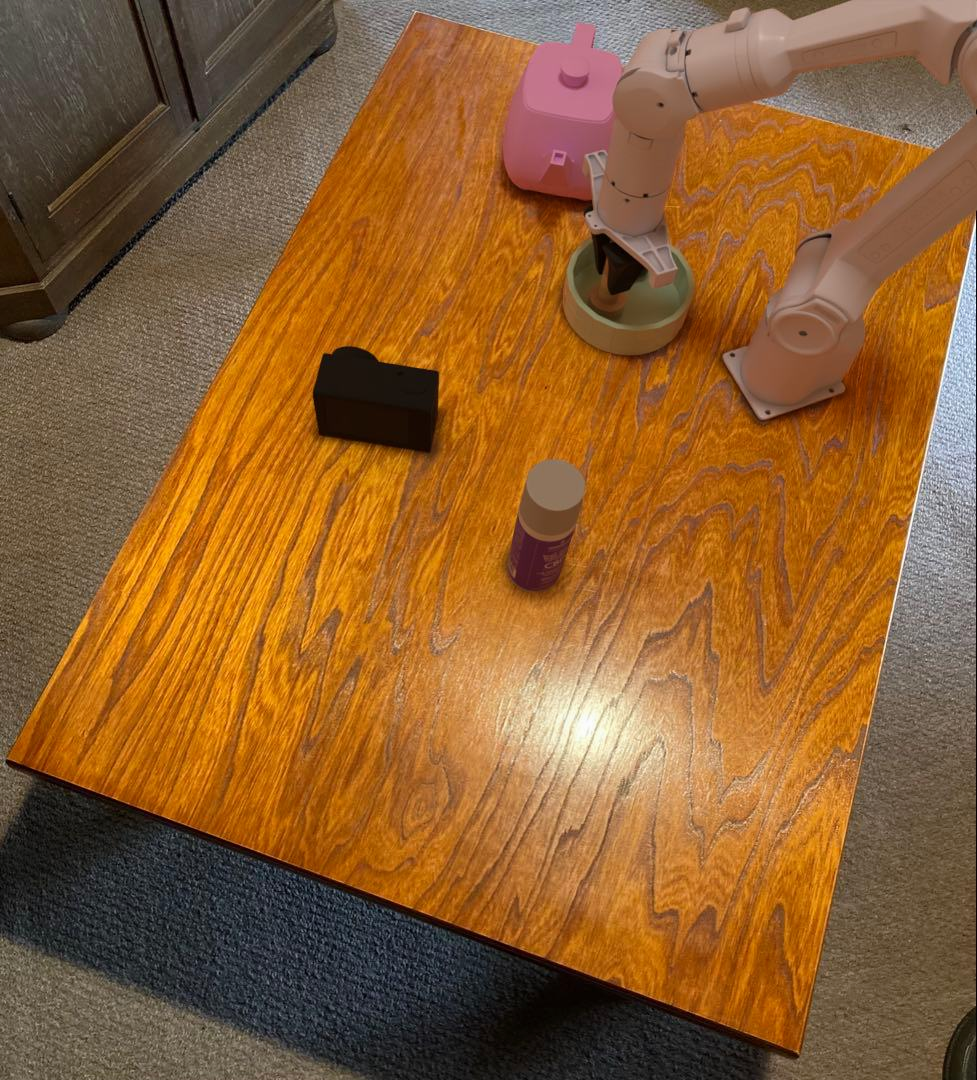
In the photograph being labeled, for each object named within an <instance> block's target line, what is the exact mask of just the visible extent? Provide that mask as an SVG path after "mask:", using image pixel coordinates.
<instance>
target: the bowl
mask: <svg viewBox="0 0 977 1080" xmlns="http://www.w3.org/2000/svg"><path fill="white" fill-rule="evenodd" d="M670 248H671V253H672V257H673V260H674V262H675V264H676V266H677V268H678V270H677V273H676V276H675V279H674V282H673V283H672V284H669V285H666V286H663V287H659V288H656V289H653V288H652V287H651V285H650V283H649V278H650V272H649V271H648V273H647V274H646V275H645V276H644V277H642V278H637V280H636V281H635V283H634V284H633V285H632V287H631V288H630V290H628V291H625V293H626V297H627V299H626V304H625V308H624V311H623V313H622V315H621V316H620V317H619V318H617V319H615V320H612V321H610V320H608V319H606V318H604V317H601V316H599V315H597V314H596V313H595V312H594V311H593V310H592V309H590V308H589V307H588V306H587V304H588V299H589V294H590V291H591V289H592V288H593V287H594V286H595V285H596V284H598V283H601V279H602V275H599V273H598V272H597V269H596V264H595V255H594V246H593V240H592V236H591V237H589V238H587V239H585V240H584V241H583V242H581V244H580V245H579V246H578V247H577V248H576V249H575V250H574V251H573V253H572V254H571V256H570V260H569V262H568V266H567V267H566V272H565V277H564V283H563V288H562V310H563V312H564V316H565V318H566V320H567V322H568V324H569V326H570V327H571V329H572V330H573V331H574V332H575V334H576V335H577V336H579V337H580V338H581V339H582V340H583V341H584V342H586V343H587V344H589V345H591V346H593V348H596V349H598V350H601V351H603V352H606V353H610V354H614V355H620V356H642V355H646V354H649V353H653V352H656V351H658V350H660V349H662V348H664V347H665V346H666V345H669V343H670V342H672V341H673V340H674V339H675V338H676V337H677V336H678V334H679V333H680V331H681V329H682V328H683V326H684V323H685V320H686V318H687V315H688V312H689V309H690V306H691V303H692V300H693V296H694V293H695V288H696V285H695V279H694V274H693V269H692V267H691V265H690V264H689V263H688V261H687V260H686V258H685V256H684V255H683V253H682V252H681V251H680V250H678V249H677V248H676V247H674V245H672V244H671V243H670Z"/></svg>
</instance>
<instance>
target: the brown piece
mask: <svg viewBox="0 0 977 1080" xmlns="http://www.w3.org/2000/svg"><path fill="white" fill-rule="evenodd" d="M611 242H615V241H613V240H612V239H611V240H610V243H611ZM608 270H609V268H608V259H607V257H606V261H605V266H604V270H603V274H602V279H601V283H598V284H596V285H595V286H594V287H593V288H592V289H591V291H590V294H589V299H588V304H587V306H588V307H589V308H590V309H592V310H593V311H594V312H595V313H596V314H597V315H599V316H601V317H604V318H606V319H608V320H610V321H612V320H615V319H617V318H619V317H620V316H621V315H622V313H623V311H624V308H625V304H626V299H627V297H626V293H625V292H622V293H619V294H615V295H611V294H610V293H609V291H608V287H607V280H608Z"/></svg>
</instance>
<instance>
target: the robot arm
mask: <svg viewBox="0 0 977 1080" xmlns="http://www.w3.org/2000/svg"><path fill="white" fill-rule="evenodd" d="M970 26H972V27H970ZM902 56H912V57H914V58H915V59H916V60H917V62H919V63H920V64H921V65H922V66H923V67H924V68H925V69H926V70H927V71H928V72H929V74H931V75H932V76H933V77H934V78H935V79H936V80H937V81H938V83H940V84H941V85H943V86H949V85H950V82H951V79H952V76H953V73H954V70H955V69H957V72H958V73H957V74H958V78H959V80H960V83H961V85H962V87H963V89H964V92H965V93H966V95H967V97H968V98H969V99H970V101H971V103H972V105H973V106H974V108H975V110H977V0H848V1H846V2H842V3H839V4H837V5H833V6H831V7H828V8H825V9H822V10H819V11H816V12H813V13H810V14H808V15H805V16H802V17H798V18H796V19H791V17H789V16H787V15H786V14H785V13H783V12H782V11H780V10H778V9H776V8H771V7H770V8H767V9H763V10H760V11H756V12H753V13H751V11H750V9H749V7H747V6H746V7H743V8H740V9H735V10H733V11H731V13H730V16H729V17H728V19H727V20H724V21H721V22H718V23H714V24H711V25H707V26H703V27H700V28H697V29H693V30H690V31H687V32H686V31H685V29H683V28H682V29H678V28H659V29H655V30H653V31H650V32H649V33H647V34H645V35H644V36H643V37H642V39H641V41H639V42H638V44H637V46H636V48H635V49H634V51H633V53H632V56H631V57H630V58H629V60H628V62H627V64H626V66H625V68H624V70H623V73H622V75H621V77H620V79H619V80H618V82H617V85H616V88H615V90H614V93H613V98H612V103H613V109H614V112H615V114H616V116H617V118H616V120H615V122H614V126H613V131H612V136H611V141H610V146H609V151H608V154H607V153H606V151H605V150H601V151H597V152H593V153H590V154H586V155H585V156H584V162H583V168H582V172H583V173H584V175H585V176H586V177H587V178H590V185H591V193H592V200H591V202H592V204H591V205H588V206H586V207H585V208H584V210H583V213H582V214H583V218H584V224H585V225H586V227H587V229H588V231H589V232H590V235H591V237H592V240H593V246H594V255H595V264H596V269H597V272H598V273H599V275H602V274H603V270H604V266H605V261H606V257H607V259H608V268H609V270H608V280H607V287H608V291H609V293H610V294H611V295H615V294H619V293H622V292H625V291H628V290H630V288H631V287H632V285H633V284H634V283H635V281H636V280H637V278H638V277H639V276H640V274H641V273H642V272H643V271H644V270H645V269H646V268H647V269H648V271H649V272H650V278H649V283H650V285H651V287H652V288H653V289H656V288H659V287H663V286H666V285H669V284H672V283H673V282H674V279H675V276H676V273H677V270H678V268H677V266H676V264H675V262H674V260H673V257H672V253H671V248H670V244H671V243H670V235H669V230H668V222H667V217H666V211H665V210H666V206H667V202H668V198H669V194H670V191H671V188H672V186H673V185H672V184H673V181H674V177H675V172H676V169H677V165H678V162H679V158H680V155H681V151H682V148H683V145H684V142H685V137H686V125H687V122H689V121H691V120H694V119H696V118H697V116H698V115H702V114H705V113H710V112H715V111H719V110H724V109H728V108H732V107H736V106H741V105H745V104H750V103H753V102H754V103H755V102H758V101H762V100H767V99H769V98H774V97H779V96H782V95H784V94H786V93H787V91H789V89H790V87H791V86H792V85H793V84H794V81H795V78H796V77H797V76H798V75H799V74H802V73H807V72H808V73H809V72H814V71H820V70H826V69H831V68H838V67H843V66H849V65H855V64H859V63H860V64H861V63H868V62H872V61H873V62H874V61H880V60H884V59H890V58H896V57H897V58H898V57H902ZM976 212H977V113H976V114H975V115H974V116H973V117H971V118H970V119H969V120H968V121H967V122H966V123H964V125H962V126H961V127H960V128H959V129H958V130H957V131H956V132H954V133H953V134H952V135H951V136H950V137H948V138H947V139H946V141H944V142H943V143H942V144H941V145H939V146H938V147H937V148H936V149H935V150H934V151H933V152H932V153H930V154H929V155H928V156H927V157H926V158H925V159H923V160H922V161H921V162H920V163H918V164H917V166H916V167H914V168H913V169H912V170H910V172H909V173H907V174H906V175H905V176H904V177H903V178H902V179H900V180H899V181H898V182H897V183H896V184H895V185H894V186H892V187H891V188H890V189H889V190H887V192H885V193H884V194H883V195H882V196H881V197H879V199H877V200H876V201H875V202H874V203H873V204H871V205H870V206H869V207H868V209H866V210H865V211H863V213H861V214H860V215H859V216H858V217H857V218H856V219H854V220H851V219H847V218H840V219H839V220H838V222H836V223H835V224H833V225H832V226H831V227H829V228H827V229H824V230H823V229H822V230H819V231H816V232H813V233H810V234H808V235H807V236H805V237H804V238H802V240H800V242H799V243H798V245H797V246H796V249H795V252H794V259H793V260H792V264H791V265H790V269H789V270H788V274H787V276H786V279H785V281H784V284H783V286H782V287H780V288H779V289H777V290H776V291H775V292H774V293H773V294H772V295H771V296H770V297H769V300H768V302H767V303H766V306H765V308H764V311H763V313H762V315H761V317H760V320H759V321H758V324H757V325H756V328H755V331H754V332H753V335H752V337H751V340H750V341H749V344H748V345H744V346H742V347H739V348H736V349H732V350H729V351H726V352H724V353H722V357H721V360H722V362H723V363H724V365H725V366H726V368H727V370H728V371H729V373H730V375H731V377H732V378H733V380H734V381H735V383H736V384H737V386H738V388H739V389H740V391H741V392H742V394H743V396H744V398H745V399H746V400H747V402H748V404H749V405H750V407H751V408H752V411H753V412H754V415H756V417H757V419H758V420H760V421H768V420H769V419H772V418H775V417H779V416H781V415H784V414H787V413H790V412H793V411H796V410H798V409H801V408H804V407H806V406H809V405H813V404H816V403H818V402H821V401H824V400H827V399H830V398H834V397H835V396H839V395H841V394H844V392H845V390H846V386H845V385H844V383H843V382H842V381H843V379H844V378H845V376H846V374H847V372H848V371H849V370H850V368H851V366H852V365H853V363H854V361H855V360H856V358H857V357H858V355H859V353H860V351H861V350H862V348H863V346H864V342H865V339H866V323H865V320H864V317H863V315H862V313H863V312H864V311H865V309H866V308H867V306H868V304H869V303H870V301H872V298H873V297H874V295H875V294H876V292H877V291H878V289H879V288H880V286H881V285H882V284H883V283H884V282H885V281H886V280H888V279H889V278H890V277H892V276H893V275H894V274H896V273H897V272H898V271H899V270H901V269H902V268H903V267H905V266H906V265H907V264H909V263H910V262H911V261H913V260H914V259H915V258H916V257H918V256H919V255H920V254H921V253H923V252H924V251H926V250H927V249H928V248H929V247H931V246H932V245H933V244H935V243H936V242H937V241H939V240H940V239H942V237H944V236H945V235H947V234H948V233H949V232H951V231H952V230H953V229H955V227H957V226H958V225H959V224H961V223H962V222H964V221H965V220H966V219H967V218H968V217H970V216H971V215H973V214H974V213H976ZM611 239H612V240H613V241H615V242H611V243H610V240H611Z"/></svg>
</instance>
